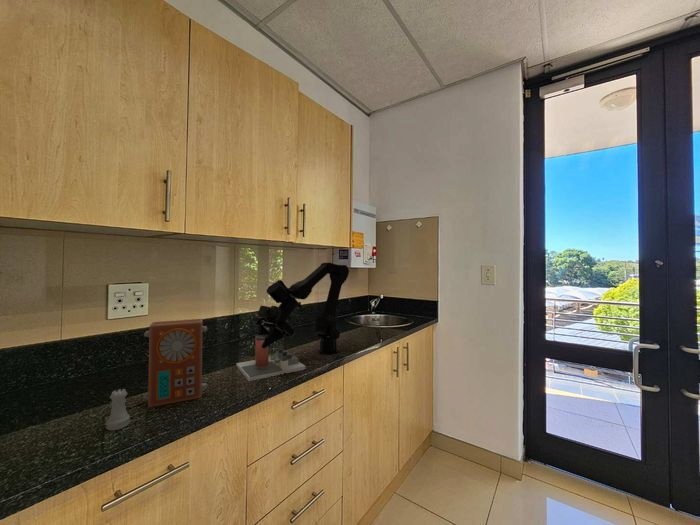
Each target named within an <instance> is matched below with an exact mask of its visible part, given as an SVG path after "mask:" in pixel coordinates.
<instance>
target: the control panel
mask: <svg viewBox="0 0 700 525" xmlns="http://www.w3.org/2000/svg"><path fill="white" fill-rule="evenodd" d="M207 331H208V326H206V325H203V319H202V318H194V319H193V318H192V319H182V320H181V319H179V320H167V321H166V320H165V321H153V322H152V323H151V324H150V325H149V329H148V330H146V331H145V332H144V333H143V336H144V337H145V338H146V337H147V338H148V339H149V340H148V341H149V342H148V385H147V386H148V387H147V388H148V389H147V390H148V391H147V392H144V394H143V396H142V399H143V400H147V407H148V408H151V407H159V406H163V405H167V404H173V403H181V402H185V401H191V400H195V399H201V398H202V395H203V393H202V392H203V391H204V390H207V386H208V384H207V383H206V382H203V333H204V332H207Z"/></svg>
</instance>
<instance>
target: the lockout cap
mask: <svg viewBox="0 0 700 525" xmlns="http://www.w3.org/2000/svg"><path fill="white" fill-rule="evenodd" d="M267 336H268V335H255V339H254V343H255V345H254V346H255V350H254V351H255V354H254V355H255V359H254V360H255V366H257V367H264V366H267V365H268V364H269V358H270V357H269V355H270V354H269V353H270V352H269V346H270V345H269V346H267V347H266V348H262V345H263V343H264V341H265V339H266V338H267Z"/></svg>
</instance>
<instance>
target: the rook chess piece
mask: <svg viewBox="0 0 700 525" xmlns="http://www.w3.org/2000/svg"><path fill="white" fill-rule="evenodd" d="M127 395H128V392H127V390H126V389H125V388H122V389H121V388H118V389H117V390H116V389H115V390H113V391H112V392H111V395H110V396H109V399H111V402H110V404H111V411H110V415H109V416H108V419H107V420H106V423H105V424H106V426H105V429H106V430H108V431H111V432H113V431H119V430H122V429H124V428H126V427H127V426H128V425H129V424H130V423H131V420H130V418H131V416H130V415H129V413H128V411H127V408H126V402H127V399H126V397H127Z"/></svg>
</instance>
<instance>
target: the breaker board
mask: <svg viewBox="0 0 700 525" xmlns="http://www.w3.org/2000/svg"><path fill="white" fill-rule="evenodd" d="M275 353H276V354H275V356H270V357H269V364H268V365H267V366H264V367H257V366H255V359H254V360H253V359H252V360H248V361H243V362H242V361H241V362H236V365H235V367H236V368H237V369H238V371H239V372H240V373H241V374H242V375H243V377H244V378H245V379H246V380H247V381H248V382H251V381H255V380H261V379H262V380H263V379H266V378H267V379H268V378H271V376H272V377H275V376H281V375H285V374H284V373H286V374H289V373H294V372H299V371H304V369H305V370H306V365H304V364H303V363H302V362H300V360H299V357H298V356H296V355H294V354H292V353H291V352H289V351H288V350H284V349H283V348H278V349H277V351H276V352H275ZM280 374H281V375H280Z"/></svg>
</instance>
